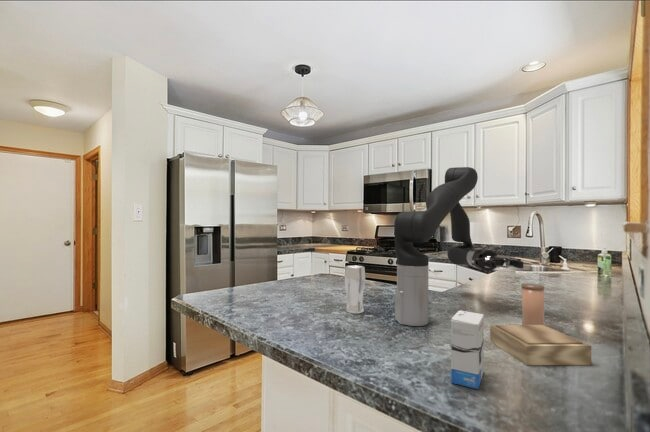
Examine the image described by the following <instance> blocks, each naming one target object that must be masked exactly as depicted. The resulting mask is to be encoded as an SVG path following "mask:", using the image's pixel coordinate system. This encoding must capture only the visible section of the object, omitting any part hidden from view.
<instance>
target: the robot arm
mask: <svg viewBox="0 0 650 432" xmlns="http://www.w3.org/2000/svg"><path fill="white" fill-rule="evenodd" d="M478 177H479V176H478V172H477V170H476V169H475V168H473V167H468V166H464V167H463V166H459V167H457V166H456V167H449V168H447V170H445V174H444V183H442V184H439V185H438V186H436V187H434V188H433V190H431V192H429V193H428V195H427V196H426V199H425V206H426V210H423V211H421V210H420V211H401V212H398V214H397V215H396V217H395V219H394V227H393V229H394V230H393V231H394V235H393V236H394V251H395V252H394V253H395V258H396V287H395V289H394V319H395V320H396V322H398V324H399V325H405V326H412V327H423V326H427V325H428V324H429V319H430V318H429V317H430V314H429V257H428V255H426V254H425V253H423V252H421V251H420V250H418V249H416V248H415V246H414V243H426V242H428V241H430V240H431V239H432V238H433V236H434V235H435V234H436V232H437V230H438V229H439V228H440V225H441V224H442V222H443V221H444V220H445V218H446V217H447V216H448V215H449V217H450V226H451V228H450V229H451V233H450V234H451V239H452V241H454V242H457V243H462V244H461V245H456V246H451V247H449V248H448V250H447V253H446V254H447V258H448V260H449V261H450V262H451V263H452V264H454V265H465V266H466V265H467V266H470V267H473V268H475V269H479V270H480V271H481V270H482V271H485V272H491V271H494V270H495V269H499V268H503V269H505V268H506V269H508V268H510V267H511V268H517V269H524V262H523V260H522V259H521V258H517V257H516V258H515V257H511V256H501V255H498V253H497V252H495V251H494V250H493V249H488V248H481V247H474V245H473V242H472V238H471V221H470V219H469V216H468V214H467V213H466V211H465V209H464V208H463V206H462V204H461V203H460V201H461V200H462V199H463V198H464V197H465V196H467V195H468V194H469V193H470V192H473V190H474V188H476V186H477V183H478Z"/></svg>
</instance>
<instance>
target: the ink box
mask: <svg viewBox="0 0 650 432" xmlns="http://www.w3.org/2000/svg"><path fill="white" fill-rule="evenodd" d="M484 316H485V315H484V314H483V313H479V312H478V313H477V312H473V311H466V310H458V311H456V313H455V314H454V315H453V316H452V317H451V322H450V327H451V328H450V338H451V340H450V341H451V343H450V346H451V347H450V350H451V351H450V353H451V354H450V358H451V359H450V362H451V363H450V383H451V384H455V385H458V386H463V387H466V388H470V389H474V390H479V388H480V385H481V382H482V379H483V375H484V355H485V354H484V353H485V352H484V348H485V347H484V319H485V318H484Z"/></svg>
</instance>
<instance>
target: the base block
mask: <svg viewBox="0 0 650 432" xmlns="http://www.w3.org/2000/svg"><path fill="white" fill-rule="evenodd" d="M489 327H490V328H489V333H490V334H489V337H490V338H489V341H490V342H491V343H492V344H494V345H496V346H497V347H499V348H500V349H501V350H503V351H504V352H506V353H507V354H509V355H510V356H513V358H515V359H517V360H518V361H519V362H521V363H523V364H524V365H526V366H592V345H590V344H588V343H586V342H584V341H581V340H579V339H577V338H574V337H572V336H570V335H568V334H565V333H563V332H561V331H559V330H557V329H554V328H552V327H549V326H547V325H545V324H544V325H522V324H490V325H489Z"/></svg>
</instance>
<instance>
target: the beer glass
mask: <svg viewBox="0 0 650 432" xmlns="http://www.w3.org/2000/svg"><path fill="white" fill-rule="evenodd" d="M365 269H366V268H365V266H363V265H358V264H357V265H356V264H355V265H354V264H353V265H352V264H351V265H345V267H344V288H345V294H346V306H345V312H346V313H349V314H362V313H363V312H364V309H365V308H364V303H363V300H364V292H365V288H366V270H365Z"/></svg>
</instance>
